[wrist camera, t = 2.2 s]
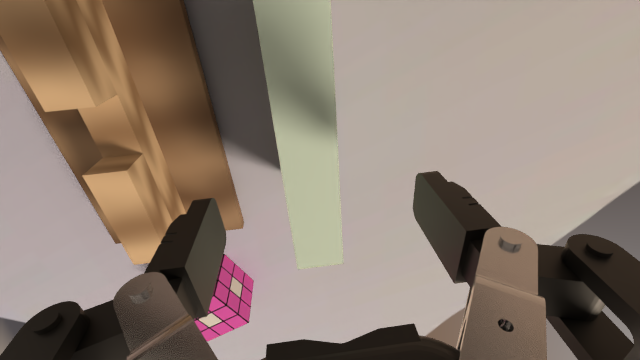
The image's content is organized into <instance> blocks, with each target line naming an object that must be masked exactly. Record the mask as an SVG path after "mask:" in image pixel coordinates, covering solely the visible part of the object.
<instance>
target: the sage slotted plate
mask: <svg viewBox="0 0 640 360" xmlns="http://www.w3.org/2000/svg"><path fill="white" fill-rule="evenodd" d="M253 5H254V11H255V17H256V23H257V29H258V35H259V41H260V47H261V53H262V59H263V65H264V71H265V77H266V83H267V89H268V95H269V101H270V107H271V113H272V119H273V125H274V131H275V137H276V143H277V149H278V155H279V161H280V167H281V173H282V179H283V185H284V190H285V196H286V202H287V208H288V214H289V220H290V226H291V232H292V238H293V244H294V250H295V256H296V262H297V268H298V269H305V268H313V267H321V266H329V265H337V264H343V245H342V225H341V204H340V184H339V163H338V143H337V122H336V102H335V81H334V61H333V40H332V20H331V0H253Z"/></svg>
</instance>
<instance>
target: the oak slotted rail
mask: <svg viewBox="0 0 640 360" xmlns="http://www.w3.org/2000/svg"><path fill="white" fill-rule="evenodd" d="M0 50H1V52H2V54H3V55H4V57H5V59H6V60H7V62H8V64H9V65H10V67H11V69H12V70H13V72H14V74H15V75H16V77H17V79H18V81H19V82H20V84H21V86H22V87H23V89H24V91H25V92H26V94H27V96H28V97H29V99H30V101H31V102H32V104H33V106H34V107H35V109H36V111H37V112H38V114H39V116H40V117H41V119H42V121H43V122H44V124H45V126H46V127H47V129H48V131H49V133H50V134H51V136H52V138H53V139H54V141H55V143H56V144H57V146H58V148H59V149H60V151H61V153H62V154H63V156H64V158H65V159H66V161H67V163H68V164H69V166H70V168H71V169H72V171H73V173H74V174H75V176H76V178H77V180H78V181H79V183H80V185H81V186H82V188H83V190H84V191H85V193H86V195H87V196H88V198H89V200H90V201H91V203H92V205H93V206H94V208H95V210H96V211H97V213H98V215H99V216H100V218H101V220H102V221H103V223H104V225H105V226H106V228H107V230H108V232H109V233H110V235H111V237H112V238H113V240H114V242H115V243H116V244H117V243H122V245H123V247H124V249H125V250H126V252H127V254H128V255H129V257H130V259H131V261H132V262H133V264H134V265H136V264H144V263H150V261H151V259H152V258H153V256H154V254H155V252H156V250H157V248H158V246H159V244H161V241H162V239H163V237H164V236H165V233H166V231H167V229H168V227H169V226H170V224H171V223H172V222H173V221H174V220H175V219H176V218H177V217H178V216H179V215H181V214H186V213H187V211H188V209H189V207H190V205H191V203H192V201H193V200H198V199H207V198H214V199H215V200H216V202H217V205H218V208H219V211H220V214H221V218H222V221H223V224H224V227H225V230H233V229H241V228H243V224H244V221H243V217H242V213H241V210H240V206H239V202H238V199H237V195H236V191H235V188H234V184H233V180H232V177H231V173H230V169H229V166H228V162H227V158H226V155H225V151H224V147H223V144H222V140H221V136H220V133H219V129H218V125H217V122H216V118H215V114H214V111H213V107H212V103H211V100H210V96H209V92H208V88H207V85H206V81H205V77H204V74H203V70H202V66H201V63H200V59H199V55H198V52H197V48H196V44H195V41H194V37H193V33H192V30H191V26H190V22H189V19H188V15H187V11H186V8H185V4H184V0H0Z"/></svg>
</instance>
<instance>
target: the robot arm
mask: <svg viewBox="0 0 640 360" xmlns="http://www.w3.org/2000/svg"><path fill="white" fill-rule="evenodd" d="M413 211H414V216H415V219H416V221H417V222H418V224H419V226H420V227H421V229H422V231H423V232H424V234H425V236H426V237H427V239H428V241H429V242H430V244H431V246H432V247H433V249H434V251H435V252H436V254H437V256H438V257H439V259H440V260H441V262H442V264H443V265H444V267H445V269H446V270H447V272H448V274H449V275H450V277H451V279H452V280H453V282H454V284H456V283H463V282H467V283H468V284H469V286H470V290H469V294H468V298H467V303H466V307H465V312H464V316H463V321H462V325H461V330H460V334H459V338H458V342H457V346H456V348H454V347H452V346H450V345H448V344H446V343H444V342H442V341H439V340H436V339H433V338H429V337H425V336H419V335H418V332H417V330H416V327H415V325H414V324H408V325H401V326H394V327H387V328H380V329H377V330H374V331H372V332H370V333H367V334H365V335H363V336H360V337H358V338H356V339H353V340H351V341H349V342H346V343H342V344H339V343H330V342H322V341H313V340H304V339H303V340H296V341H289V342H282V343H275V344H268V345H267V349H266V358H264V359H261V360H547V343H546V318H547V319H548V321H549V322H550V323H551V324H552V326H553V327H554V329H555V330H556V331H557V333H558V334H559V335H560V337H561V338H562V339H563V340H564V342H565V343H566V344H567V346H568V347H569V348H570V350H571V351H572V352H573V353H574V355H575V356H576V358H577V359H578V360H640V262H639V261H638V260H637V259H636V258H634V257H633V256H632V255H630V254H629V253H628V252H627V251H625V250H624V249H623V248H621V247H620V246H618V245H617V244H615V243H613V242H611V241H609V240H606V239H604V238H601V237H598V236H593V235H587V234H578V235H573V236H571V237H570V238H569V239H568V241H567V243H566V245H565V247H560V246H550V245H540V244H536V243H535V241H534V240H533V239H532V238H531V237H529V236H528V235H526V234H525V233H523V232H521V231H518V230H516V229H512V228H508V227H501V226H500V224H499V223H498V222H497V221H496V220H495V219H494V218H493V217H492V216H491V215H490V214H489V213H488V212H487V211H486V210H485V209H484V208H483V207H482V206H481V205H480V204H478V202H477V201H476V200H475V199H474V198H472V196H471V195H470V194H469V193H468V191H467V190H466V189H465V188H463V187H461V186H459V185H458V184H456V183H454V182H447V180H446V179H445V178H444V177H443V176H442V175H441V174H440V173H439V172H438V171H433V172H425V173H418V174H417V176H416V181H415V191H414V201H413ZM225 245H226V231H225V227H224V224H223V221H222V218H221V214H220V211H219V208H218V205H217V202H216V200H215V199H214V198H207V199H198V200H193V201H192V203H191V205H190V207H189V209H188V211H187V213H186V214H181V215H179V216H178V217H177V218H176V219H175V220H174V221H173V222H172V223H171V224H170V226H169V227H168V229H167V231H166V233H165V236H164V237H163V239H162V241H161V244H159V246H158V248H157V250H156V252H155V254H154V256H153V258H152V259H151V261H150V263H149V265H148V267H147V269H146V271H145V273H144V274H141V275H139V276H137V277H135V278H133V279H131V280H130V281H128V282H127V283H126V284H124V285H123V286H122V287H121V288H120V289H119V291H118V292H117V293H116V295H115V297H114V300H111V301H109V302H106V303H103V304H101V305H98V306H95V307H93V308H90V309H87V310H84V311H83V310H82V308H81V307H80V306H79V305H78V304H77V303H76V302H72V301H67V302H61V303H58V304H55V305H52V306H50V307H48V308H46V309H44V310H42V311H41V312H39V313H38V314H36V315H35V316H34V317H32V318H31V319H30V320H29V321H28V322H27V323H26V324H25V325H24V326H23V327H22V328H21V329H20V330H19V332H18V333H17V334H16V336H15V337H14V338H13V340H12V341H11V342H10V344H9V345H8V346H7V348H6V349H5V350H4V352H3V353H2V354H1V355H0V360H218V359H217V357H216V356H215V354H214V352H213V351H212V349H211V348H210V346H209V344H208V343H207V341H206V339H205V338H204V336H203V335H202V333H201V331H200V330H199V328H198V326H197V325H196V323H195V322H194V320H195V318H202V317H207V315H208V311H209V308H210V304H211V300H212V296H213V292H214V288H215V284H216V280H217V276H218V272H219V268H220V264H221V260H222V256H223V253H224V249H225ZM605 305H606V306H607V307H608V308H609V309H610V310H611V311H612V312H613V313H614V314H615V315H616V316H617V317H618V318H619V319H620V320H621V321H622V322H623V323H624V324H625V325H626V326H627V327H628V329H629V330H630V332H631V334H632V336H633V339H634V344H633V343H632V342H631V341H630V340H629V339H628V338H627V337H626V336H625V335H624V333H622V331H620V329H619V328H618V327H617V326H616V325H615V324H614V323H613V322H612V321H611V320H610V319H609V318H608V317H607V316H606V315H605V314H604V313H603V312H602V309H603V308H604V306H605Z"/></svg>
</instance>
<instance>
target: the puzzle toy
mask: <svg viewBox="0 0 640 360" xmlns="http://www.w3.org/2000/svg"><path fill="white" fill-rule="evenodd" d="M253 282H254V281H253V280H252V279H251V278H250V277H249V276H248V275H247V274H246V273H244V272H243V271H242V270H241V269H240V268H239V267H238V266H237V265H236V264H234V262H232V261H231V260H230V259H229V258H228V257H227V256H226V255H225V254H223V256H222V260H221V264H220V268H219V272H218V276H217V280H216V284H215V288H214V292H213V296H212V300H211V304H210V308H209V311H208V315H207V317H202V318H195V320H194V322H195V323H196V325H197V326H198V328H199V330H200V331H201V333H202V335H203V336H204V338H205V339H206V341H210V340H212V339H214V338H216V337H218V336H220V335H223V334H225V333H227V332H229V331H232V330H234V329H236V328H238V327H240V326H242V325H245V324H247V323H249V316H250V307H251V299H252V290H253Z"/></svg>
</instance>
